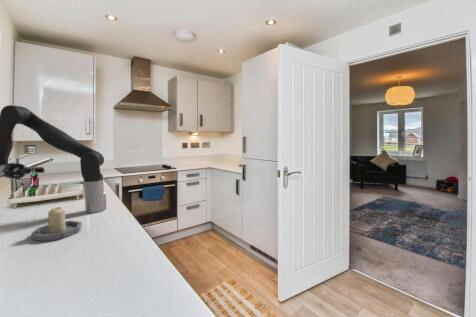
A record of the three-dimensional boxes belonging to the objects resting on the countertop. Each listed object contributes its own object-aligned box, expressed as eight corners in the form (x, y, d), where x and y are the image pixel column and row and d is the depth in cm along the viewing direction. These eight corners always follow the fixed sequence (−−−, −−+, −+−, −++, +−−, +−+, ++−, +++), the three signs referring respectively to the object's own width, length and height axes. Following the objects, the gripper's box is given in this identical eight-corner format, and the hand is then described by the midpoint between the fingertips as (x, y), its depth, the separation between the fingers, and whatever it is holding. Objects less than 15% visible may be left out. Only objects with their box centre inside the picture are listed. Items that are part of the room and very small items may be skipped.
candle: (57, 234, 96) (55, 210, 96) (46, 233, 98) (44, 209, 97) (69, 228, 102) (67, 206, 101) (58, 228, 103) (57, 205, 102)
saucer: (65, 224, 110) (65, 219, 110) (89, 228, 104) (88, 223, 104) (24, 238, 95) (23, 232, 95) (49, 244, 89) (49, 237, 89)
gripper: (-8, 165, 109) (13, 165, 103) (28, 161, 122) (48, 162, 116) (-6, 180, 109) (15, 182, 104) (30, 175, 123) (50, 177, 117)
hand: (33, 171), depth 110 cm, fingers open, 8 cm apart
